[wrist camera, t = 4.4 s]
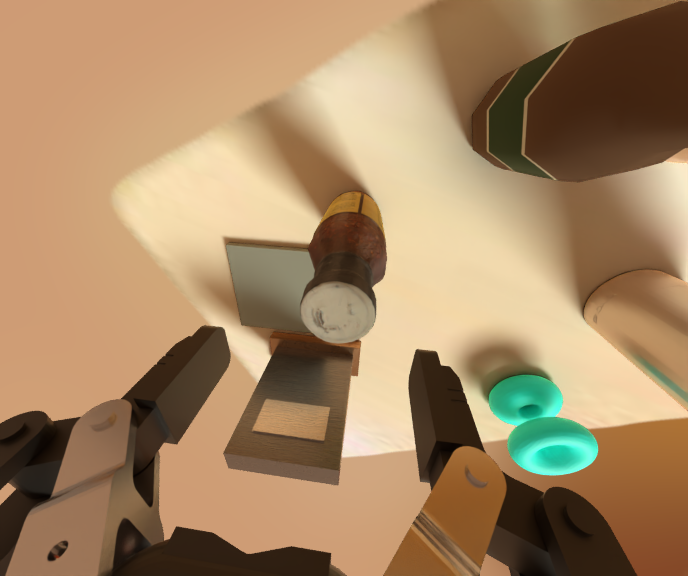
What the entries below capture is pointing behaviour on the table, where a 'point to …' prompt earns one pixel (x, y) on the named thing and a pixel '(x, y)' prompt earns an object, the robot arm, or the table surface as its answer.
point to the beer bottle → (593, 102)
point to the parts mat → (270, 284)
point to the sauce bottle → (345, 270)
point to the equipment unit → (297, 411)
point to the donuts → (541, 427)
